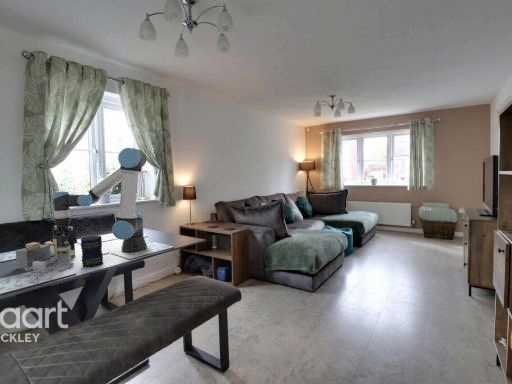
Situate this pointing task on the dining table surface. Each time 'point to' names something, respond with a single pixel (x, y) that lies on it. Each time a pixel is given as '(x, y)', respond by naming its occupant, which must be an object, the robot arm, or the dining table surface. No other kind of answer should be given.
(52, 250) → the lidded jar
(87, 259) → the storage jar
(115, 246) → the dining table surface
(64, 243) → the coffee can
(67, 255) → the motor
